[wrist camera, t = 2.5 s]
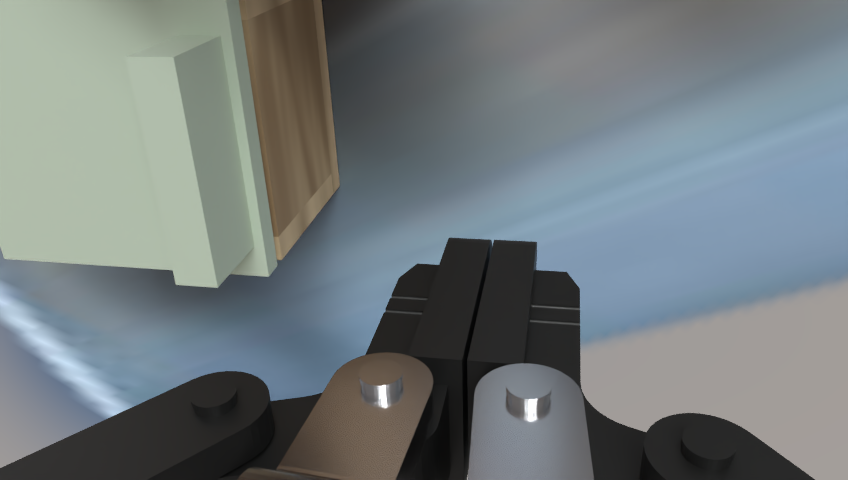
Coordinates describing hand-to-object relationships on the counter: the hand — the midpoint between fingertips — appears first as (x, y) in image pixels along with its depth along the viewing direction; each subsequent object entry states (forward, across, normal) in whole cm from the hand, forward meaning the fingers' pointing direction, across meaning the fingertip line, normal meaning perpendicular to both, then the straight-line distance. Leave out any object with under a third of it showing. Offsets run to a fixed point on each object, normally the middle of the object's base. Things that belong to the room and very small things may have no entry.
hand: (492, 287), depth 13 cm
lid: (+7, +12, 0) cm, 14 cm away
